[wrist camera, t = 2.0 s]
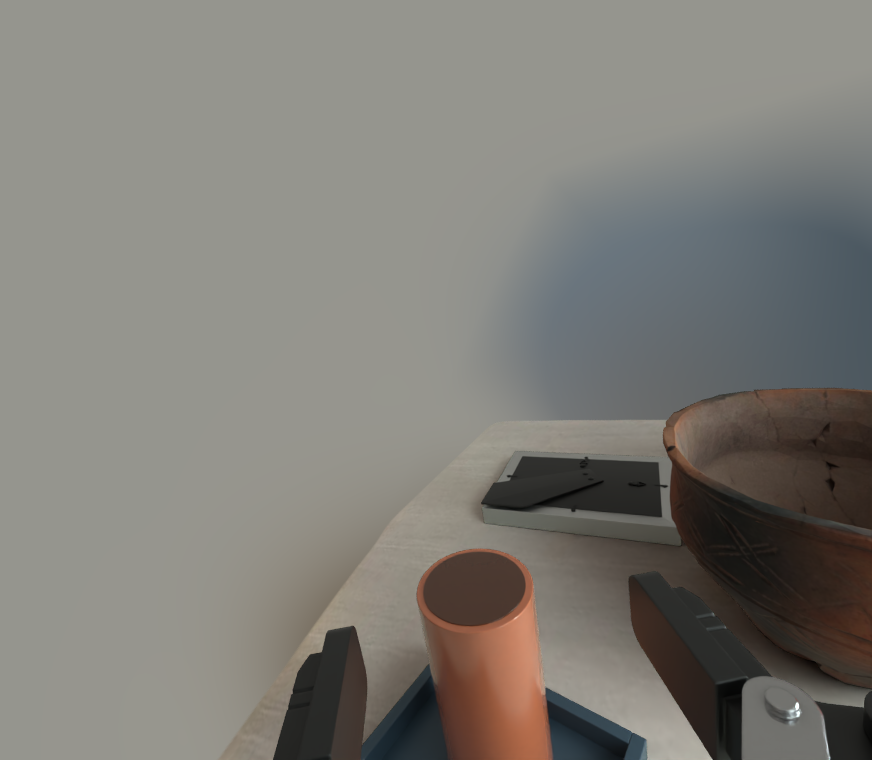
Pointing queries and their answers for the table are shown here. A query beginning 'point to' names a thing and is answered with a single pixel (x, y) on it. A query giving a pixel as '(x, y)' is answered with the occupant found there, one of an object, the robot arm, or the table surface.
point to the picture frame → (585, 495)
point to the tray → (569, 724)
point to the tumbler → (485, 656)
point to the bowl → (784, 514)
